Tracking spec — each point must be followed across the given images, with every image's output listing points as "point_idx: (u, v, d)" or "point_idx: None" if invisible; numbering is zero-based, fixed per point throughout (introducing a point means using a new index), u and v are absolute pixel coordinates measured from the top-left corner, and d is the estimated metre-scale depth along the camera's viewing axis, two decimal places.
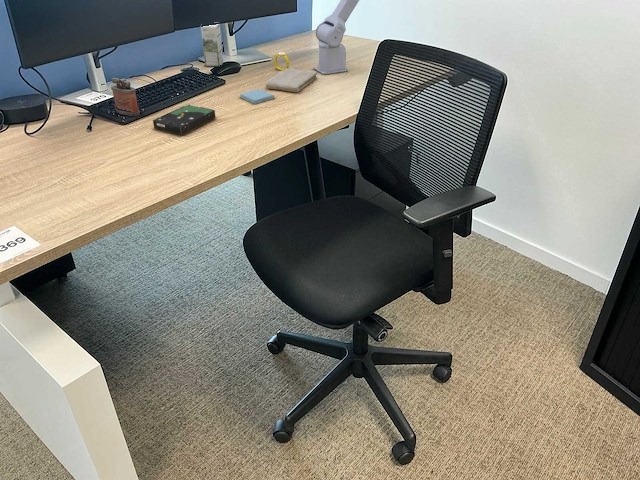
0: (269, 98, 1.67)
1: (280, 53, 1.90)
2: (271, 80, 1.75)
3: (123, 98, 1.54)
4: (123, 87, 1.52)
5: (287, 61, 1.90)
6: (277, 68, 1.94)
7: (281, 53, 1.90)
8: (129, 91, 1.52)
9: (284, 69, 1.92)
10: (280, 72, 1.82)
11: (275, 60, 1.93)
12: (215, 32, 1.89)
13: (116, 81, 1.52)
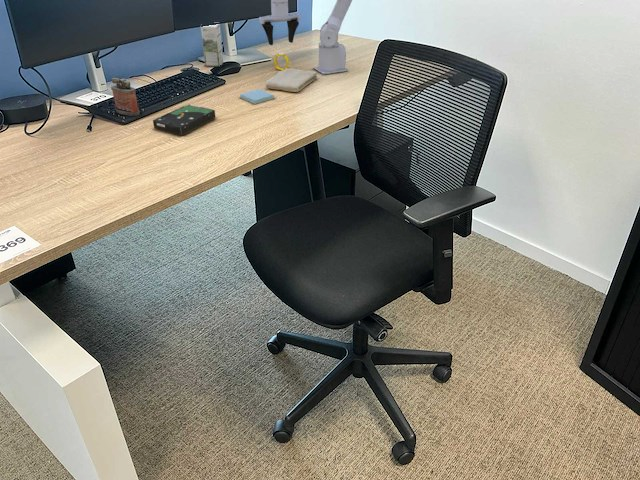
0: (269, 98, 1.67)
1: (280, 53, 1.90)
2: (271, 80, 1.75)
3: (123, 98, 1.54)
4: (123, 87, 1.52)
5: (287, 61, 1.90)
6: (277, 68, 1.94)
7: (281, 53, 1.90)
8: (129, 91, 1.52)
9: (284, 69, 1.92)
10: (280, 72, 1.82)
11: (275, 60, 1.93)
12: (215, 32, 1.89)
13: (116, 81, 1.52)
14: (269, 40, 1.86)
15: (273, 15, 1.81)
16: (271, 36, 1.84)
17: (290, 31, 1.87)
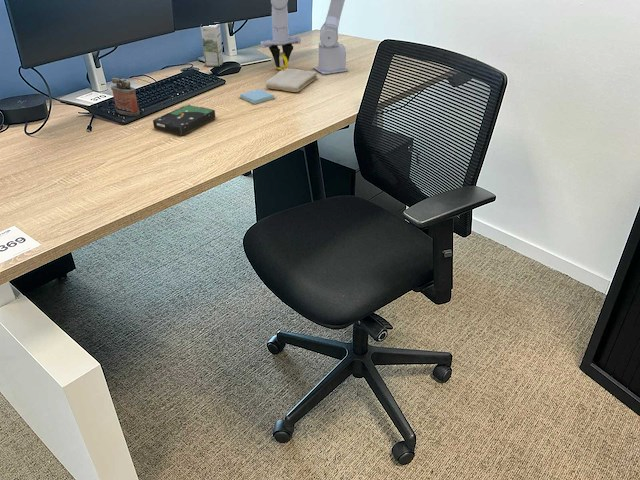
0: (269, 98, 1.67)
1: (280, 53, 1.90)
2: (271, 80, 1.75)
3: (123, 98, 1.54)
4: (123, 87, 1.52)
5: (285, 61, 1.90)
6: (277, 68, 1.94)
7: (281, 53, 1.90)
8: (129, 91, 1.52)
9: (282, 69, 1.92)
10: (280, 72, 1.82)
11: None
12: (215, 32, 1.89)
13: (116, 81, 1.52)
14: (276, 62, 1.91)
15: (274, 39, 1.86)
16: (278, 59, 1.89)
17: (285, 55, 1.91)
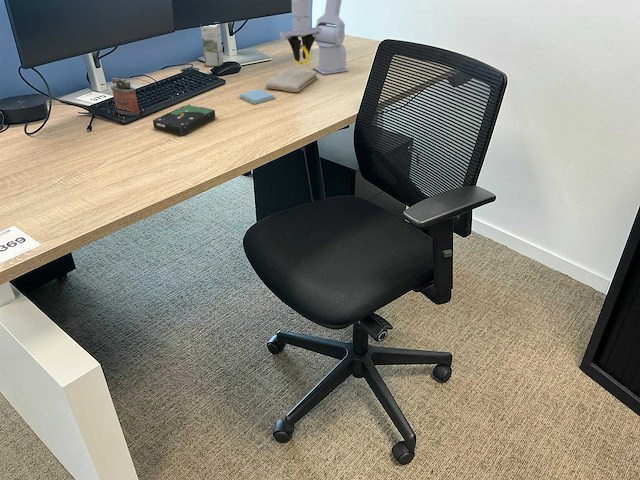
0: (269, 98, 1.67)
1: (300, 45, 1.72)
2: (271, 80, 1.75)
3: (123, 98, 1.54)
4: (123, 87, 1.52)
5: (306, 54, 1.72)
6: (296, 62, 1.76)
7: (301, 45, 1.72)
8: (129, 91, 1.52)
9: (303, 63, 1.74)
10: (280, 72, 1.82)
11: None
12: (215, 32, 1.89)
13: (116, 81, 1.52)
14: (295, 56, 1.73)
15: (294, 30, 1.68)
16: (298, 51, 1.71)
17: None
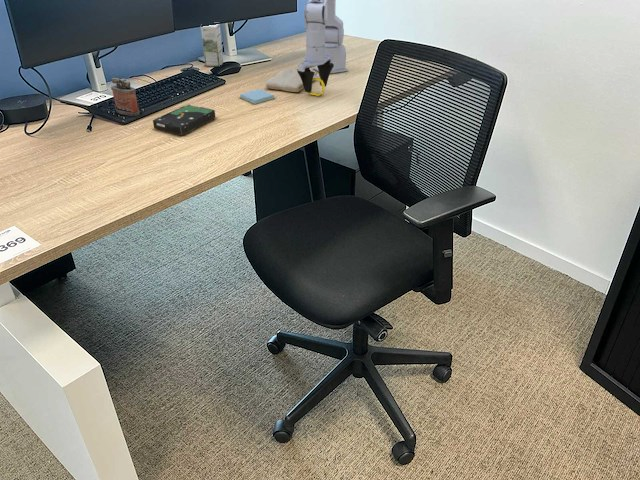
0: (269, 98, 1.67)
1: (314, 77, 1.68)
2: (271, 80, 1.75)
3: (123, 98, 1.54)
4: (123, 87, 1.52)
5: (323, 85, 1.68)
6: (310, 93, 1.71)
7: (315, 76, 1.68)
8: (129, 91, 1.52)
9: (319, 94, 1.70)
10: (280, 72, 1.82)
11: None
12: (215, 32, 1.89)
13: (116, 81, 1.52)
14: (307, 87, 1.67)
15: (311, 60, 1.63)
16: (311, 83, 1.65)
17: (323, 74, 1.71)
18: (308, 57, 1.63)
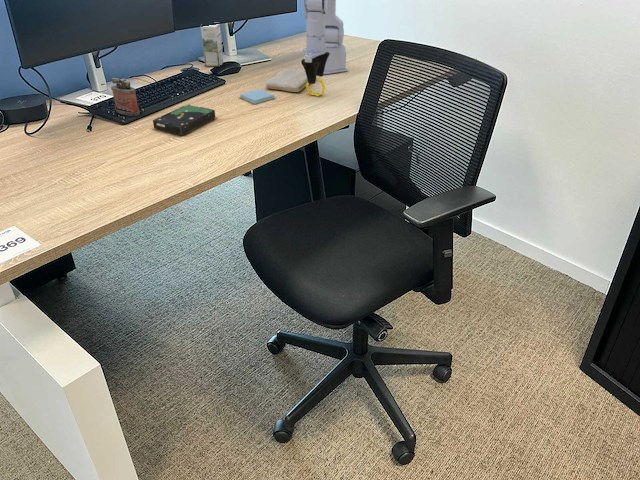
0: (269, 98, 1.67)
1: None
2: (271, 80, 1.75)
3: (123, 98, 1.54)
4: (123, 87, 1.52)
5: (323, 85, 1.68)
6: (310, 93, 1.71)
7: None
8: (129, 91, 1.52)
9: (319, 94, 1.70)
10: (280, 72, 1.82)
11: (307, 84, 1.71)
12: (215, 32, 1.89)
13: (116, 81, 1.52)
14: (311, 79, 1.65)
15: (315, 50, 1.61)
16: (316, 74, 1.63)
17: (320, 64, 1.69)
18: (310, 47, 1.61)
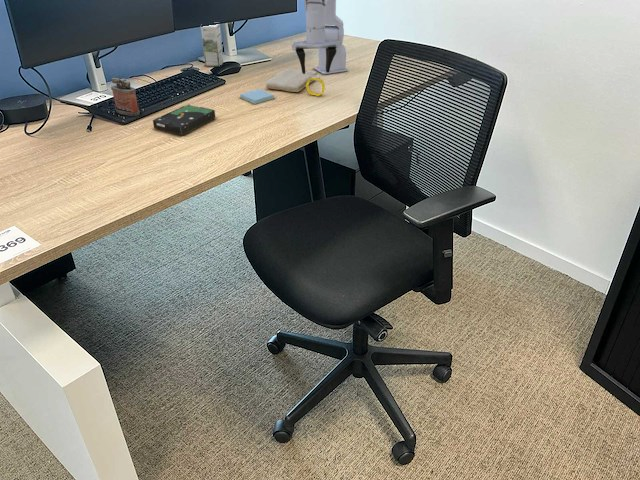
0: (269, 98, 1.67)
1: (314, 77, 1.68)
2: (271, 80, 1.75)
3: (123, 98, 1.54)
4: (123, 87, 1.52)
5: (323, 85, 1.68)
6: (310, 93, 1.71)
7: (315, 76, 1.68)
8: (129, 91, 1.52)
9: (319, 94, 1.70)
10: (280, 72, 1.82)
11: (307, 84, 1.71)
12: (215, 32, 1.89)
13: (116, 81, 1.52)
14: None
15: None
16: None
17: None
18: (324, 38, 1.62)
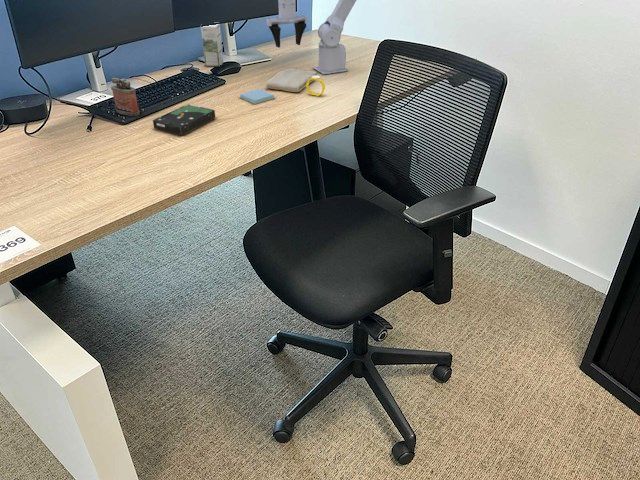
0: (269, 98, 1.67)
1: (314, 77, 1.68)
2: (271, 80, 1.75)
3: (123, 98, 1.54)
4: (123, 87, 1.52)
5: (323, 85, 1.68)
6: (310, 93, 1.71)
7: (315, 76, 1.68)
8: (129, 91, 1.52)
9: (319, 94, 1.70)
10: (280, 72, 1.82)
11: (307, 84, 1.71)
12: (215, 32, 1.89)
13: (116, 81, 1.52)
14: None
15: None
16: None
17: None
18: None
